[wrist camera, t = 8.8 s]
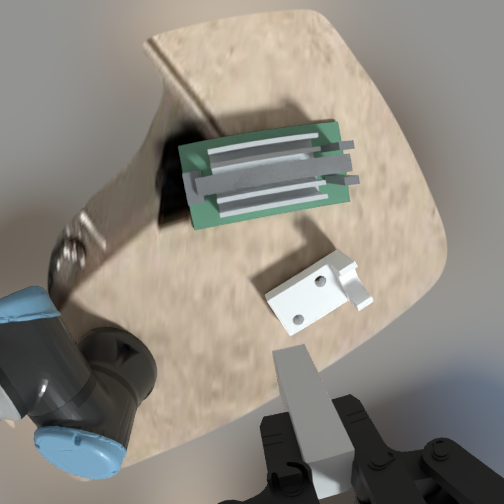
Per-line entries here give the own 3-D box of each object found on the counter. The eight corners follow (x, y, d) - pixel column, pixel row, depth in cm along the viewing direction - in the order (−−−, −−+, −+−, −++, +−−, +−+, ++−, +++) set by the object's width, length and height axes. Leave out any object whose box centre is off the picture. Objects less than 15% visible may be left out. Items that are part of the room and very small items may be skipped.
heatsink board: (194, 229, 44) (189, 242, 36) (178, 146, 41) (169, 141, 33) (348, 201, 46) (372, 207, 38) (336, 122, 42) (359, 113, 34)
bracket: (335, 247, 48) (354, 261, 40) (353, 283, 49) (373, 301, 42) (263, 292, 48) (271, 313, 41) (285, 325, 50) (296, 350, 43)
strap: (199, 196, 37) (198, 196, 36) (195, 178, 37) (194, 178, 36) (350, 171, 38) (352, 171, 37) (347, 153, 37) (349, 153, 36)
